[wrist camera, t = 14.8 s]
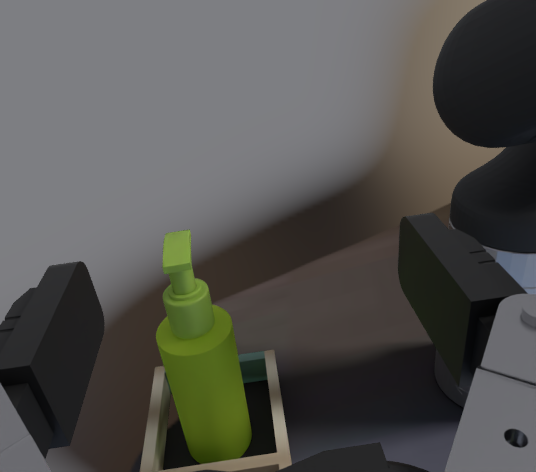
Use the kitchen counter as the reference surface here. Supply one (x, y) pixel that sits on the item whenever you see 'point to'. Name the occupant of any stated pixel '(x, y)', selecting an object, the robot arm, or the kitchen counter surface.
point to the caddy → (249, 468)
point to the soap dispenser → (201, 361)
